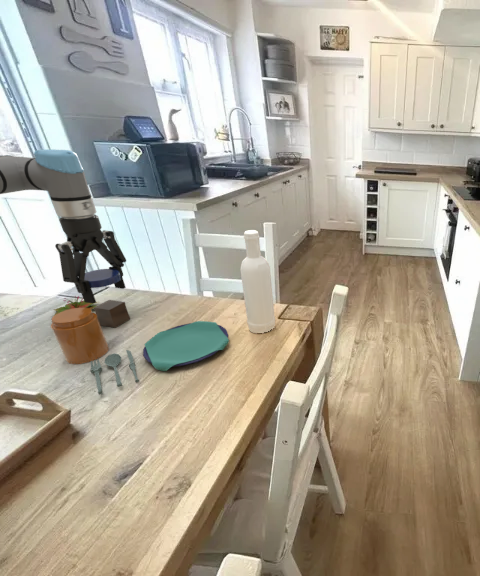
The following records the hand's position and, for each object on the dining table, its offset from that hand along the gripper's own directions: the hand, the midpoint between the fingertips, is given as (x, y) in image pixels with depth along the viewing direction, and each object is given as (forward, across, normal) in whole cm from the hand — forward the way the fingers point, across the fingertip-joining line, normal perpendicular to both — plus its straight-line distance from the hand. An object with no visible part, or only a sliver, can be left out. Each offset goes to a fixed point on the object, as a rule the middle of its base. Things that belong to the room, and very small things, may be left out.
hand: (106, 294), depth 92 cm
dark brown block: (+9, 0, 0) cm, 9 cm away
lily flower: (+9, +3, +16) cm, 19 cm away
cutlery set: (+10, -10, -25) cm, 28 cm away
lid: (-6, 0, 0) cm, 6 cm away
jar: (+9, -14, -6) cm, 18 cm away
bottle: (+10, +8, -42) cm, 44 cm away
